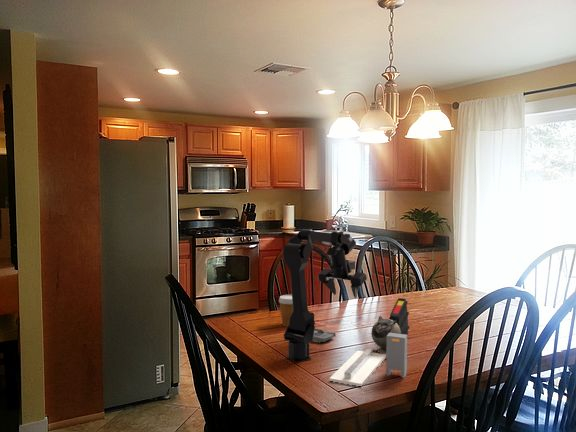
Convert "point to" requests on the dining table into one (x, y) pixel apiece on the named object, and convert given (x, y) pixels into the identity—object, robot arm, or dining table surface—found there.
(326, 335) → the graphics card
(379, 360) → the mounting board
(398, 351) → the module
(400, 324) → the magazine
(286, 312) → the disposable coffee cup
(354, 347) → the dining table surface
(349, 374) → the metal rail
